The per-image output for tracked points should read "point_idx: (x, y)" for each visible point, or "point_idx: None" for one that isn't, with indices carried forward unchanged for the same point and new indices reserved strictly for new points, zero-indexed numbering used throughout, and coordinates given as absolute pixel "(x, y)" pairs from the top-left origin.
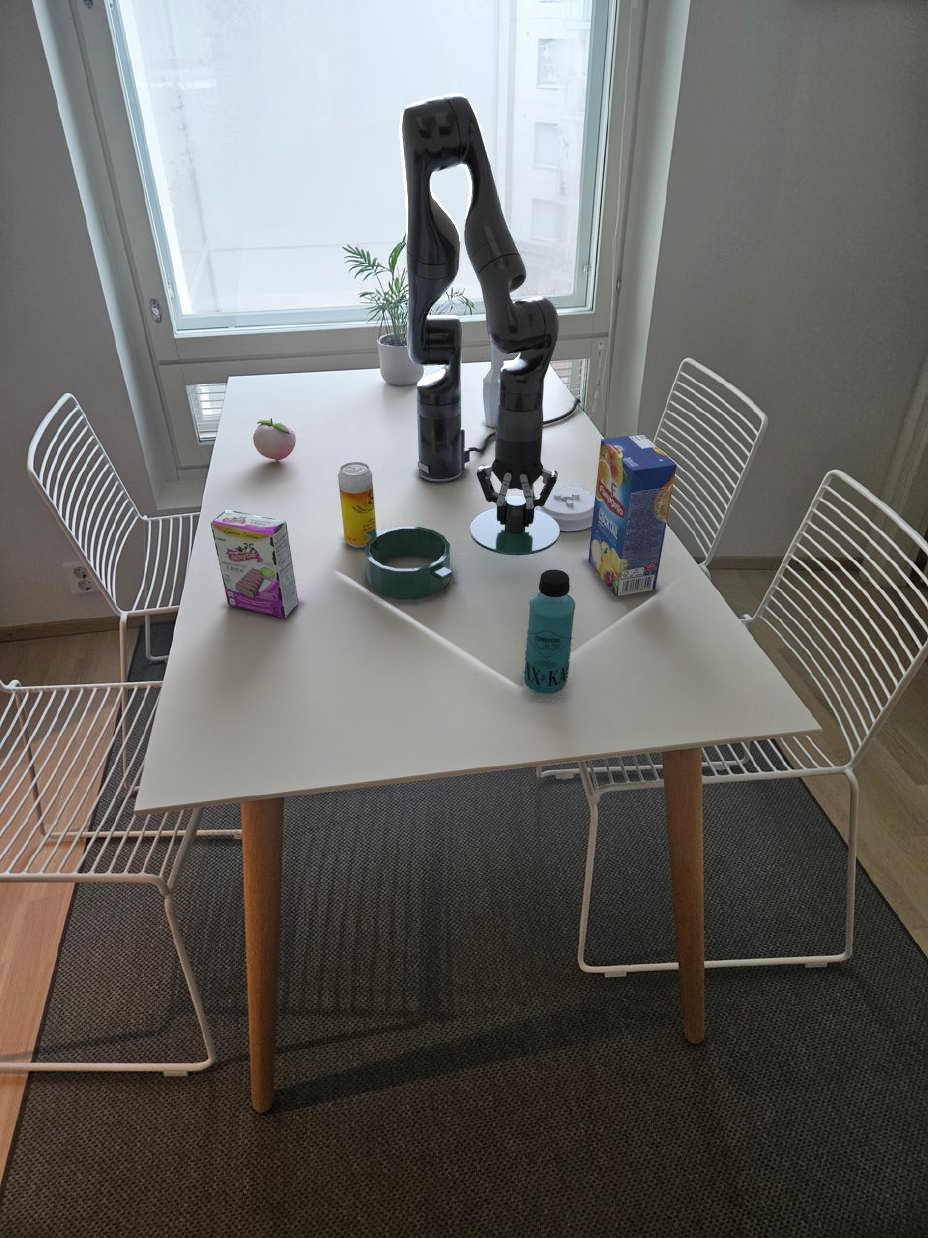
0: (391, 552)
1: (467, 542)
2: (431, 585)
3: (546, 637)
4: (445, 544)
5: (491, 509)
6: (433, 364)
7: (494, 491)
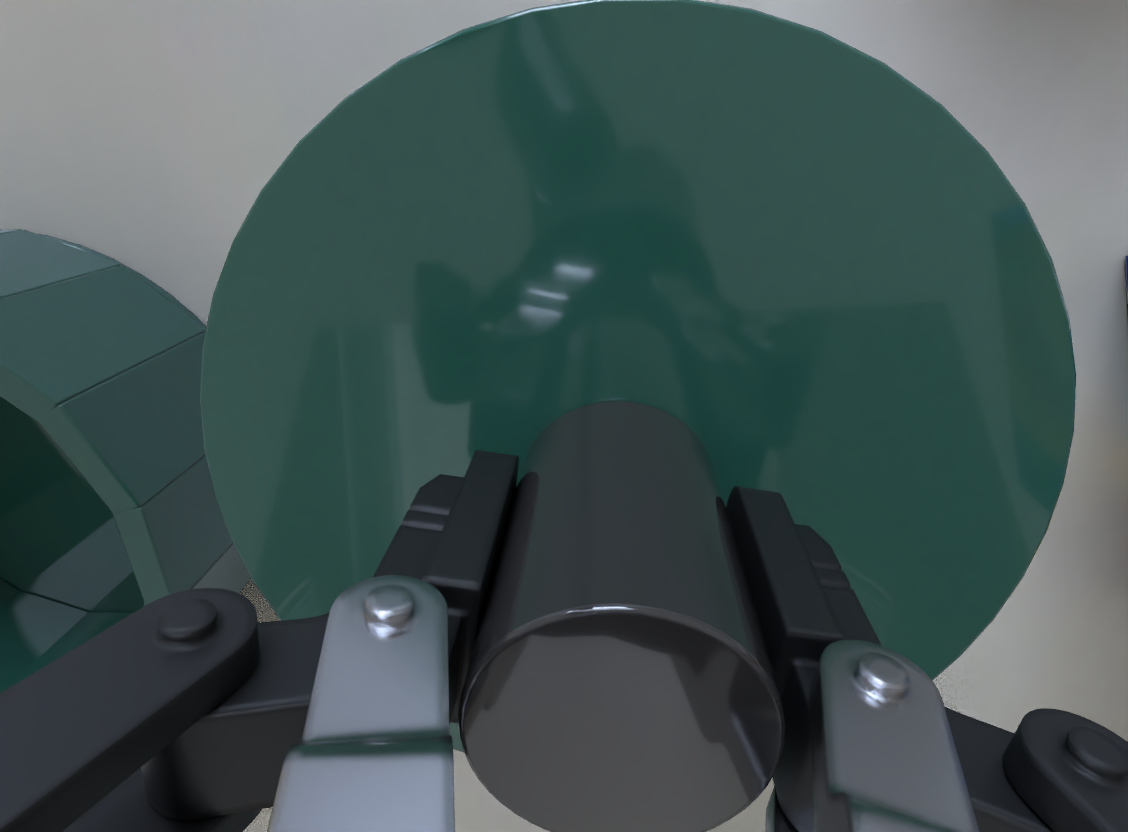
0: None
1: (285, 13)
2: None
3: None
4: (113, 512)
5: (345, 111)
6: None
7: (226, 676)
